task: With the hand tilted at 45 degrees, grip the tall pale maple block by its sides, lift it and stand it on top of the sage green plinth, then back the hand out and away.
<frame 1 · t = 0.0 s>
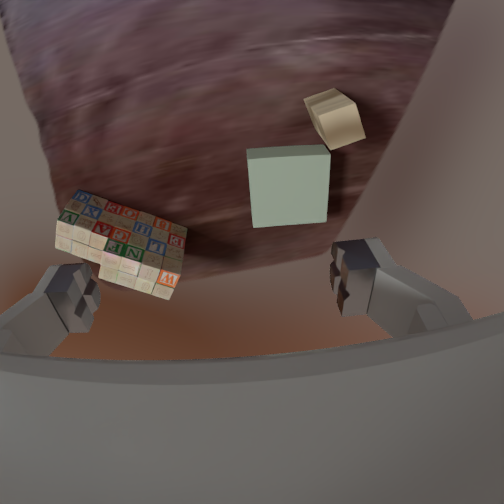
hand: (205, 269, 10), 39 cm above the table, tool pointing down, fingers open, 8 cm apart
maple block: (324, 108, 44), on the table
stack of blocks: (128, 220, 55), on the table
plinth: (286, 180, 51), on the table
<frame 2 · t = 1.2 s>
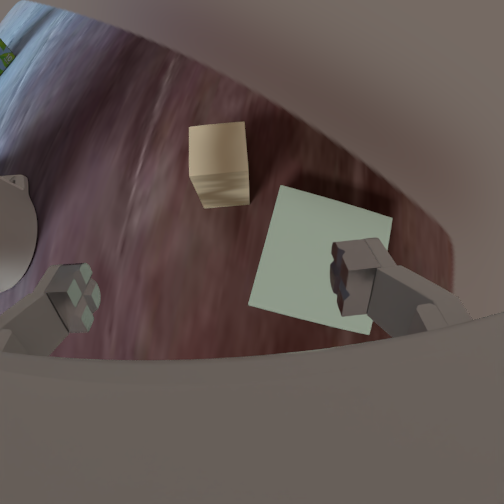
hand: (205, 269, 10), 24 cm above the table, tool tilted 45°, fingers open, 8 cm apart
maple block: (225, 185, 36), on the table
plinth: (318, 264, 34), on the table
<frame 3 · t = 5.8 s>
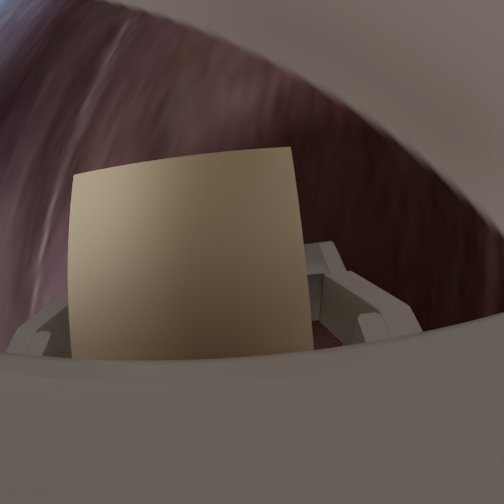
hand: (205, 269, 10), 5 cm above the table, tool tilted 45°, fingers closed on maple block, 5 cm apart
maple block: (223, 296, 15), on the table, touching gripper
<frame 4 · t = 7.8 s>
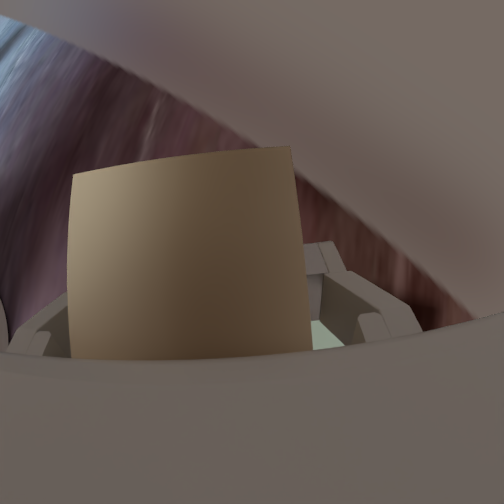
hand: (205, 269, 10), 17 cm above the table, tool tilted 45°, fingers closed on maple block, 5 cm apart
maple block: (223, 296, 15), point 13 cm above the table, touching gripper
plinth: (344, 395, 26), on the table
when the fingers open (10 cm above the table, at t = 10.3 s): maple block drops 1 cm, resting on plinth.
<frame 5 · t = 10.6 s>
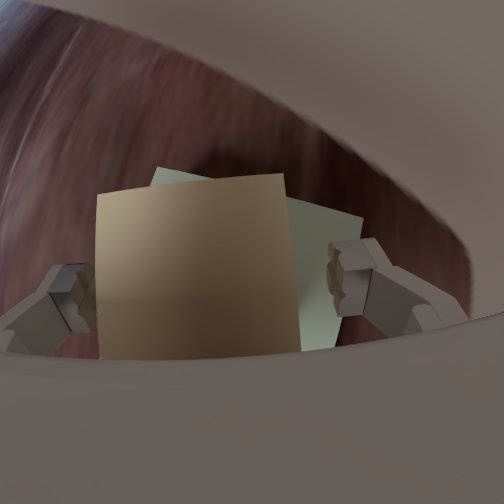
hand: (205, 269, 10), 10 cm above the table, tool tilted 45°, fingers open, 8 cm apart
maple block: (225, 297, 16), point 4 cm above the table, touching plinth
plinth: (233, 300, 20), on the table
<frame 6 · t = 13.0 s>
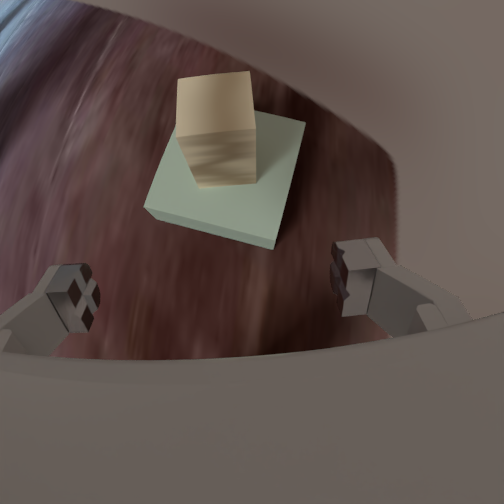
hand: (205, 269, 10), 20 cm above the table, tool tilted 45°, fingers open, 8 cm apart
maple block: (225, 160, 28), point 4 cm above the table, touching plinth
plinth: (230, 178, 32), on the table
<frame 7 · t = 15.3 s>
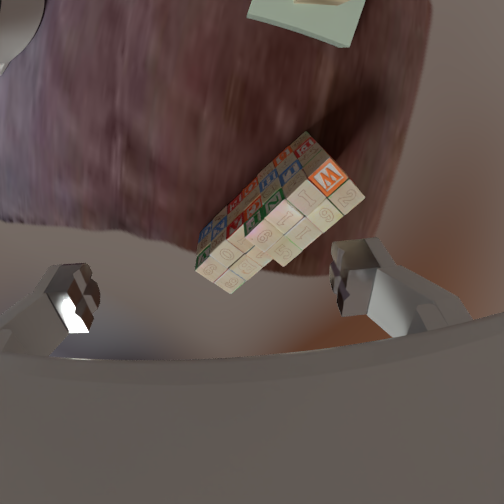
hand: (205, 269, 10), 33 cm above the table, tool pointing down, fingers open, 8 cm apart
stack of blocks: (265, 195, 45), on the table
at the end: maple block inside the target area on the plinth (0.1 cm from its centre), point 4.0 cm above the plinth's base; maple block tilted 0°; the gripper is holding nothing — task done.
